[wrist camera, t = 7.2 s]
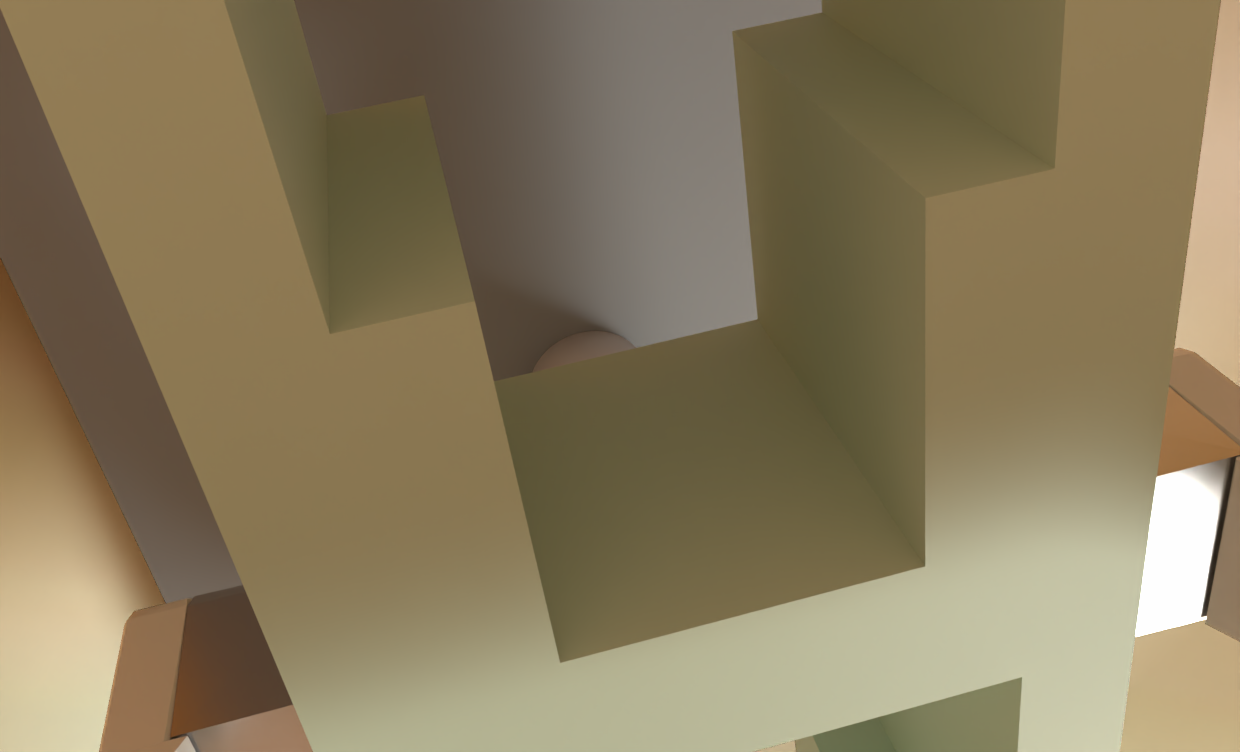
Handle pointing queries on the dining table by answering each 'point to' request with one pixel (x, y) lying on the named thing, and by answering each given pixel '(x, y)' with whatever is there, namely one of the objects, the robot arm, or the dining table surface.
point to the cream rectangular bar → (675, 385)
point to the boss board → (480, 199)
